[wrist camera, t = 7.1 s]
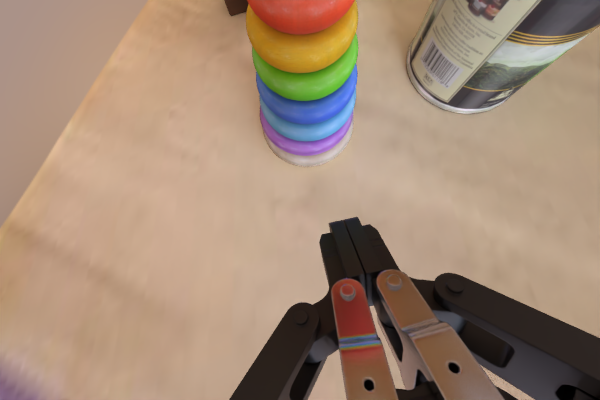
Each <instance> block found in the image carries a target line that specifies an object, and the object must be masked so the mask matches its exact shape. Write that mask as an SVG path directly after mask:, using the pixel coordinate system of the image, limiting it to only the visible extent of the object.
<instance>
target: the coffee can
mask: <svg viewBox="0 0 600 400" xmlns="http://www.w3.org/2000/svg"><path fill="white" fill-rule="evenodd" d="M599 26H600V0H433V1H432V3H431V5H430V7H429V9H428V11H427V13H426V16H425V18H424V20H423V22H422V24H421V26H420V28H419V30H418V33H417V35H416V37H415V38H414V39H413V41H412V43H411V45H410V48H409V50H408V54H407V71H408V75H409V78H410V80H411V82H412V84H413V85H414V87H415V88H416V90H417V91H418V92H419V93H420V94H421V95H422V96H423V97H424V98H425V99H426V100H428V101H429V102H430V103H432V104H434V105H436V106H437V107H439V108H441V109H444V110H448V111H451V112H455V113H462V114H473V113H480V112H485V111H488V110H491V109H493V108H495V107H497V106H499V105H501V104H502V103H503V102H505V101H506V100H507V99H508V98H509V97H510V96H511V95H512V94H514V93H515V92H516V91H517V90H519V89H520V88H521V87H522V86H524V85H525V84H526V83H527V82H529V81H530V80H531V79H532V78H534V77H535V76H536V75H538V74H539V73H540V72H541V71H543V70H544V69H545V68H546V67H548V66H549V65H550V64H551V63H553V62H554V61H555V60H556V59H558V58H559V57H560V56H562V55H563V54H564V53H565V52H567V51H568V50H569V49H570V48H572V47H573V46H574V45H576V44H577V43H578V42H580V41H581V40H582V39H583V38H585V37H586V36H587V35H589V34H590V33H591V32H592V31H594V30H595V29H596V28H597V27H599Z"/></svg>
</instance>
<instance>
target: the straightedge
mask: <svg viewBox="0 0 600 400" xmlns="http://www.w3.org/2000/svg"><path fill="white" fill-rule="evenodd" d="M225 3H226V5H227V8H228V11H229V14H230V16H232V15H235V14H239V13H242V12H245V11H247V8H248V4H249V3H248V1H247V0H225Z"/></svg>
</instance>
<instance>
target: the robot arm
mask: <svg viewBox="0 0 600 400" xmlns="http://www.w3.org/2000/svg"><path fill="white" fill-rule="evenodd" d="M329 227H330V233H327V234H322V235H321V239H320V242H319V243H320V248H321V253H322V258H323V263H324V267H325V271H326V275H327V280H328V284H329V291H328V293H327V295H326V296H325V297H324V298H323V299H322V300H320V301H319V302H317V303H315V304H313V305H311V304H309V303H298V304H295V305H293V306H292V307H291V308H290V309H289V310H288V311H287V312H286V314H285V315H284V317H283V318H282V320H281V322H280V323H279V325H278V326H277V328H276V329H275V331H274V332H273V334H272V335H271V337H270V338H269V340H268V341H267V343H266V344H265V346H264V347H263V349H262V351H261V352H260V354H259V355H258V357H257V358H256V360H255V361H254V363H253V364H252V366H251V367H250V369H249V370H248V372H247V373H246V375H245V377H244V378H243V380H242V381H241V383H240V384H239V386H238V387H237V389H236V390H235V392H234V393H233V395H232V396H231V398H230V399H229V400H308V397H309V395H310V393H311V391H312V389H313V387H314V385H315V382H316V380H317V378H318V376H319V374H320V372H321V370H322V367H323V365H324V363H325V361H326V359H327V356H329V355H330V354H332V353H333V352H335V351H336V350H338V349H339V352H340V359H341V365H342V372H343V378H344V385H345V392H346V398H347V400H518V399H516V398H515V397H513V396H512V395H510V394H509V393H507V392H505V391H504V390H502V389H500V388H498V387H496V386H495V385H494V384H493V383H492V381H491V380H490V379H489V377H488V376H487V374H486V373H485V372H484V370H483V369H482V367H481V366H480V365H482V366H483V367H485V368H486V369H488V370H489V371H491V372H493V373H494V374H496V375H497V376H499V377H500V378H502V379H504V380H505V381H507V382H508V383H510V384H512V385H513V386H515V387H516V388H518V389H519V390H521V391H523V392H524V393H526V394H527V395H529V396H530V397H532V398H534V399H535V400H600V338H598V337H596V336H594V335H591V334H589V333H587V332H585V331H582V330H580V329H578V328H576V327H574V326H571V325H569V324H567V323H565V322H563V321H560V320H558V319H556V318H554V317H551V316H549V315H547V314H545V313H543V312H540V311H538V310H536V309H534V308H531V307H529V306H527V305H525V304H523V303H520V302H518V301H516V300H514V299H511V298H509V297H507V296H505V295H503V294H500V293H498V292H496V291H494V290H491V289H489V288H487V287H485V286H483V285H480V284H478V283H476V282H474V281H472V280H469V279H467V278H465V277H463V276H460V275H457V274H453V273H444V274H441V275H439V276H438V277H437V278H436V279H435V281H428V280H417V279H413V278H411V277H408V276H407V275H406V274H405V273H403V272H402V271H400V269H399V268H398V266H397V265H396V263H395V261H394V259H393V257H392V256H391V254H390V252H389V250H388V248H387V247H386V245H385V243H384V241H383V240H382V238H381V236H380V234H379V232H378V231H377V230H376V229H375V228H374V227H372V226H371V225H370V224H369V225H364V226H362V225H361V223H360V221H359V219H358V217H354V218H350V219H345V220H341V221H336V222H331V223H329ZM373 305H374V307H375V309H376V312H377V320H378V323H379V326H380V328H381V330H382V332H383V334H384V336H385V338H386V341H387V343H388V345H389V347H390V349H391V351H392V353H393V355H394V358H395V360H396V362H397V364H398V367H399V370H400V373H401V377H402V381H403V383H404V386H405V388H406V390H404V389H395V385H394V382H393V379H392V375H391V372H390V368H389V365H388V362H387V358H386V355H385V351H384V348H383V345H382V342H381V340H380V338H379V337H378V335H377V332H376V329H375V325H374V321H373V318H372V314H371V311H370V307H369V306H373ZM479 364H480V365H479Z"/></svg>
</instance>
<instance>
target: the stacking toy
mask: <svg viewBox="0 0 600 400" xmlns="http://www.w3.org/2000/svg"><path fill="white" fill-rule="evenodd" d="M247 1H248V3H249V4H248V8H247V13H246V28H247V33H248V37H249V39H250V42H251V44H252V56H253V62H254V66H255V68H256V71H257V72H256V82H257V87H258V91H259V94H260V120H261V124H262V127H263V132H264V136H265V139H266V141H267V144H268V145H269V147H270V148H271V150H272V151H273V152H274V153H275V154H276V155H277V156H278V157H279V158H281V159H282V160H284V161H286V162H288V163H290V164H293V165H297V166H304V167H309V166H317V165H321V164H324V163H326V162H328V161H330V160H332V159H333V158H335V157H336V156H338V155H339V154H340V153H341V152H342V151H343V150H344V148H345V147H346V146H347V144H348V142H349V140H350V138H351V135H352V132H353V125H354V118H353V108H354V105H355V100H356V83H357V66H356V60H357V56H358V40H357V35H356V29H357V23H358V9H357V3H356V0H247Z"/></svg>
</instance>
